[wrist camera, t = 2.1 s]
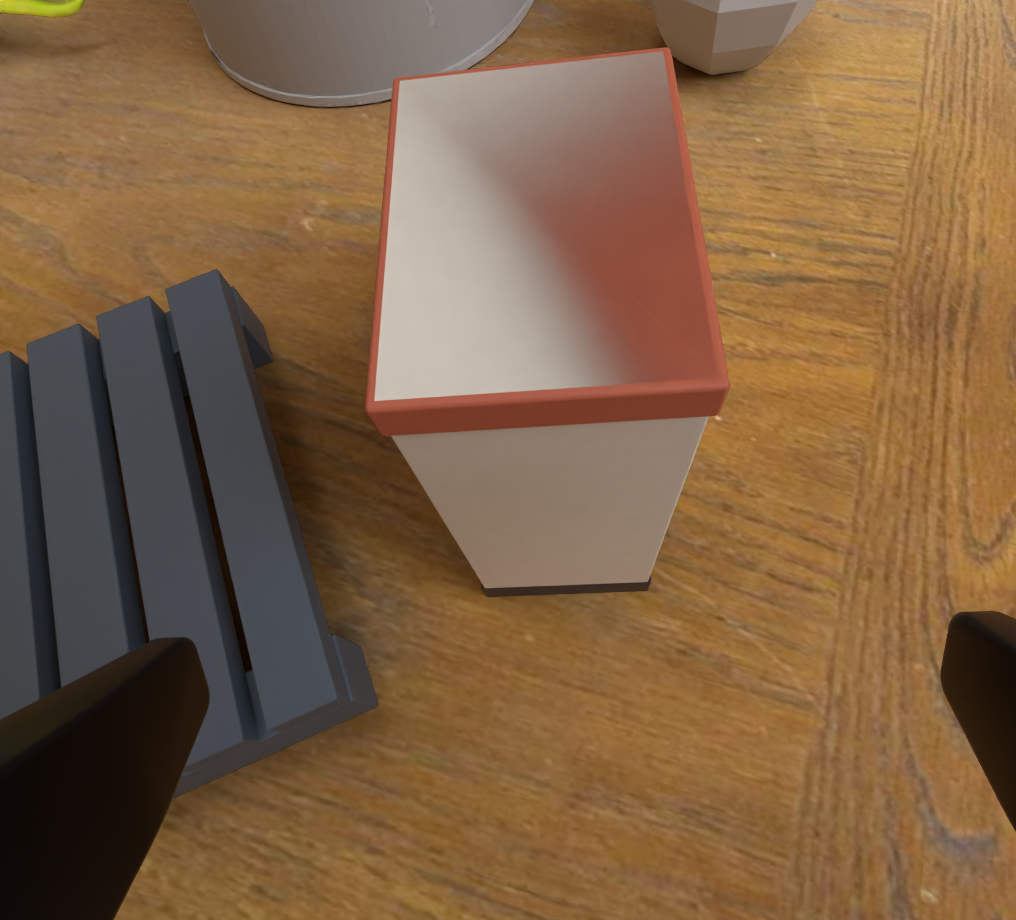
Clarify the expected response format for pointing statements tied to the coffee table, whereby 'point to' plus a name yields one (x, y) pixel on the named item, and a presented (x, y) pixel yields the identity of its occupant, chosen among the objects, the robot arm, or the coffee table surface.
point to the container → (349, 43)
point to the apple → (726, 30)
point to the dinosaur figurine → (41, 7)
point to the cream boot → (546, 314)
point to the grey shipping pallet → (163, 525)
